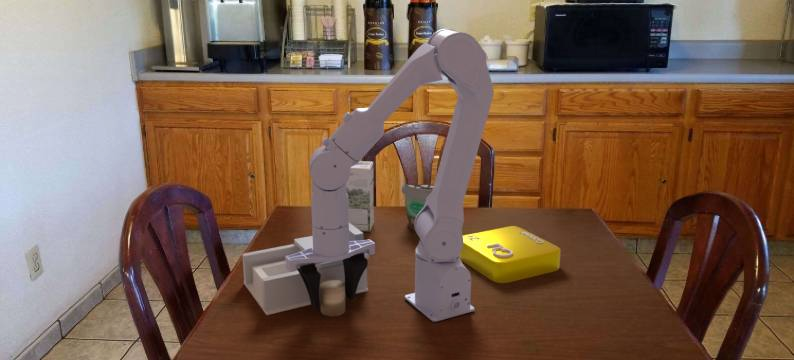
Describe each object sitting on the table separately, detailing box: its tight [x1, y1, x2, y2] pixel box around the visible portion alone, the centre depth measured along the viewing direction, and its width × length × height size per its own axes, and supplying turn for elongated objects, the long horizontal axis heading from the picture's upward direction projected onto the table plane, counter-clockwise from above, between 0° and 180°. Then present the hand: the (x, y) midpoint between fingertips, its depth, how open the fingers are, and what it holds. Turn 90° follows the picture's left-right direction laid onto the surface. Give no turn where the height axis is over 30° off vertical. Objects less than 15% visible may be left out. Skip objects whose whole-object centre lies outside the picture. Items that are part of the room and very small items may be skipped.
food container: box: [400, 179, 434, 232], centre depth 136 cm, size 12×6×10 cm, turn 73°
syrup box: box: [346, 160, 375, 233], centre depth 137 cm, size 6×6×14 cm
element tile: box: [460, 225, 562, 284], centre depth 121 cm, size 15×15×5 cm
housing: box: [241, 243, 369, 316], centre depth 110 cm, size 13×18×6 cm
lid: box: [293, 223, 370, 269], centre depth 111 cm, size 12×9×4 cm
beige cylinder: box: [320, 280, 346, 317], centre depth 102 cm, size 4×4×4 cm
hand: (332, 302), depth 102 cm, fingers open, 5 cm apart
